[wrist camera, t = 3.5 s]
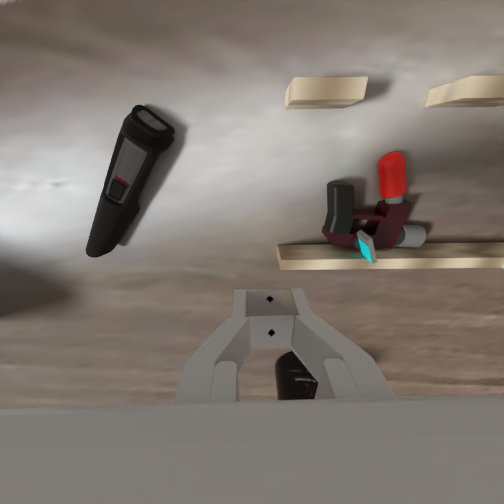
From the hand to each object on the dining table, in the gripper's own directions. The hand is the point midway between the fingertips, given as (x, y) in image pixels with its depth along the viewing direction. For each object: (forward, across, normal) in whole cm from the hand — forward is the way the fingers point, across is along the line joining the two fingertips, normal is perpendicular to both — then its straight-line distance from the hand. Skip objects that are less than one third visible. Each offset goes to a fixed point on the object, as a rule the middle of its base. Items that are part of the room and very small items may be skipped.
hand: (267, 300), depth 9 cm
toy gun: (+14, -13, -1) cm, 19 cm away
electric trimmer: (+14, +13, -3) cm, 19 cm away
